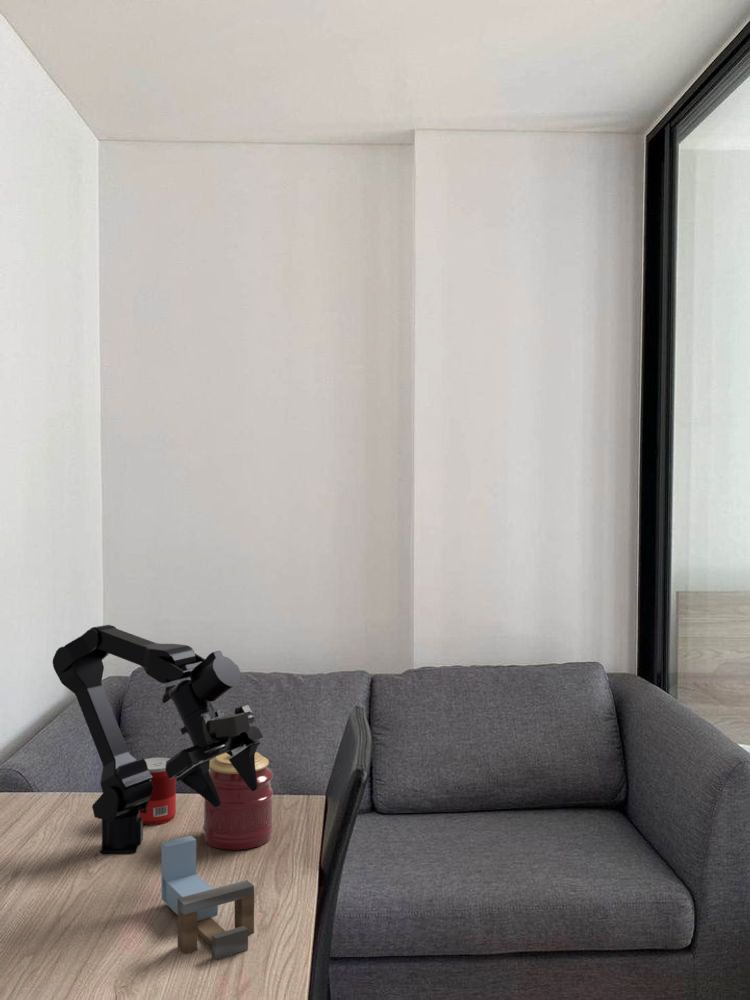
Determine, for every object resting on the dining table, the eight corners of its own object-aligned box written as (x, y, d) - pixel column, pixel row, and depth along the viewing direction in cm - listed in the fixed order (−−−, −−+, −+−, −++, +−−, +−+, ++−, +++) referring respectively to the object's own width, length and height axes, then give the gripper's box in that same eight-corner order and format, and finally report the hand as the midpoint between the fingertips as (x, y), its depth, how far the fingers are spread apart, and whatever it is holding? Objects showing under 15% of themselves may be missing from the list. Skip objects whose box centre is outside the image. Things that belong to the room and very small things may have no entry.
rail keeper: (147, 914, 143) (147, 869, 143) (213, 896, 149) (213, 853, 149) (195, 966, 128) (195, 915, 128) (266, 943, 134) (266, 896, 134)
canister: (285, 841, 172) (285, 747, 172) (221, 857, 165) (221, 758, 164) (253, 820, 183) (253, 731, 182) (192, 834, 175) (192, 741, 175)
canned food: (183, 813, 186) (183, 759, 186) (161, 827, 178) (161, 771, 178) (150, 809, 188) (150, 755, 188) (127, 822, 181) (127, 766, 181)
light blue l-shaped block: (161, 898, 146) (161, 842, 146) (191, 891, 149) (191, 835, 149) (186, 924, 138) (186, 864, 138) (217, 915, 141) (217, 856, 141)
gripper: (187, 703, 147) (230, 793, 142) (262, 681, 163) (303, 762, 158) (146, 734, 152) (186, 822, 147) (223, 710, 168) (261, 789, 163)
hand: (237, 797), depth 154 cm, fingers open, 9 cm apart
